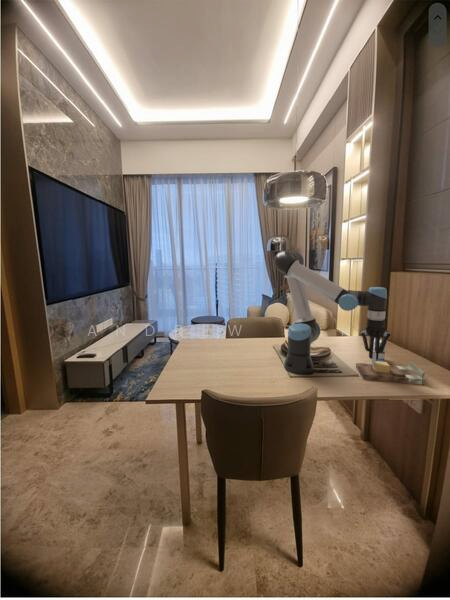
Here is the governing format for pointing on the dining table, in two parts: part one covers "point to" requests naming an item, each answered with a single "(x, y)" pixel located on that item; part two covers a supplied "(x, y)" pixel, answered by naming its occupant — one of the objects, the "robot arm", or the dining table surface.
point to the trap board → (393, 373)
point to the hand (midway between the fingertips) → (372, 364)
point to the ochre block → (382, 367)
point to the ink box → (380, 353)
